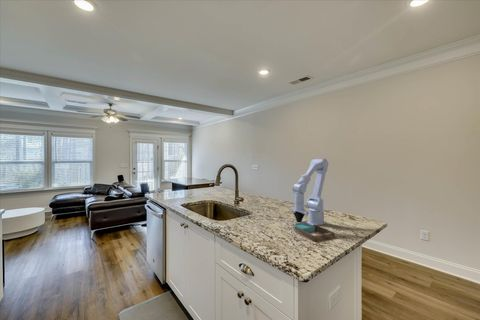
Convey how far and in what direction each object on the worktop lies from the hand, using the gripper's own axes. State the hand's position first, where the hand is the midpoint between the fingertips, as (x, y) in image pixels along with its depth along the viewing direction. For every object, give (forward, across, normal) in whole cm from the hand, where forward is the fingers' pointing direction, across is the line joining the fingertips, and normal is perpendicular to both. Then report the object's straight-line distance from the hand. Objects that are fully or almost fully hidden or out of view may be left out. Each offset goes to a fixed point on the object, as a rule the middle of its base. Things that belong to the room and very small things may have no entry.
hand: (299, 223), depth 130 cm
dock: (+2, +12, 0) cm, 13 cm away
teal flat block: (+2, +5, 0) cm, 6 cm away
